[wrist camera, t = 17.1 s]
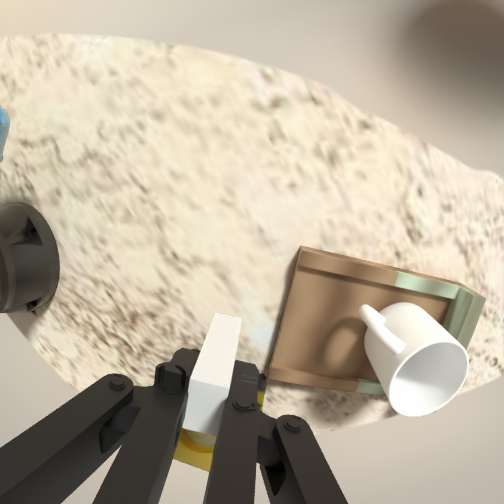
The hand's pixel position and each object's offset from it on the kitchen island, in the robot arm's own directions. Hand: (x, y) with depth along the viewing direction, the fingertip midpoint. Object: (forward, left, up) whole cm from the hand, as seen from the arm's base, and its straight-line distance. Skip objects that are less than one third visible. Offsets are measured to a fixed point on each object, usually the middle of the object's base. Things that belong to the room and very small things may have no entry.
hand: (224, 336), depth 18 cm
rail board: (+15, -4, -18) cm, 24 cm away
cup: (+16, -3, -16) cm, 23 cm away
